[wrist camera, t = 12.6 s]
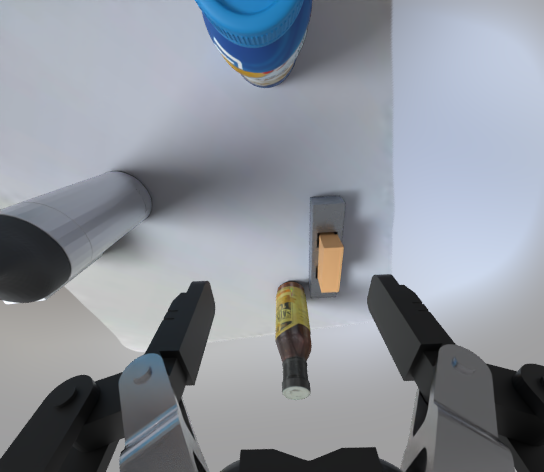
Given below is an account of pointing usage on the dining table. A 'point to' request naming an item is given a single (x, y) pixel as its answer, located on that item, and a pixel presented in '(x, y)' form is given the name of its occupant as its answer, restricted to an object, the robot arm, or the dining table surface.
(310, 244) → the rail
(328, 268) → the orange block
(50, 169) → the dining table surface
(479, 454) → the robot arm
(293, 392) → the sauce bottle
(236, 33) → the nutrition drink bottle
